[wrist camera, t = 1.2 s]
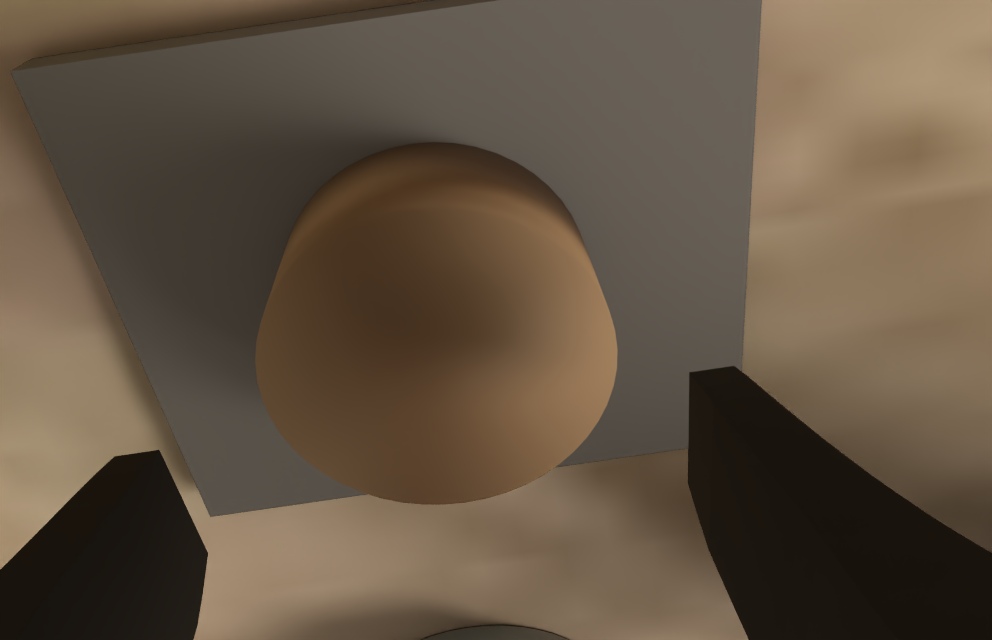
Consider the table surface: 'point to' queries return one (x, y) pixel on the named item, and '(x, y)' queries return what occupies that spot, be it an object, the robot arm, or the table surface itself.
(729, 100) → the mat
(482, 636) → the dish
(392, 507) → the table surface
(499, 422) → the lid
